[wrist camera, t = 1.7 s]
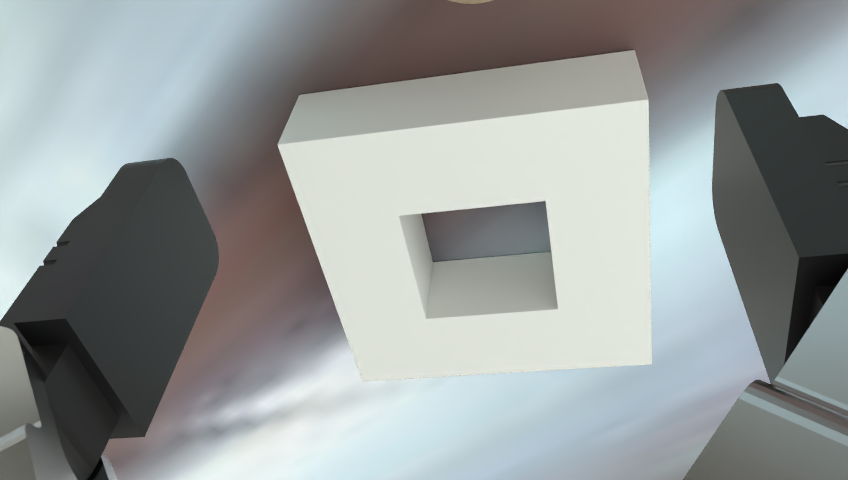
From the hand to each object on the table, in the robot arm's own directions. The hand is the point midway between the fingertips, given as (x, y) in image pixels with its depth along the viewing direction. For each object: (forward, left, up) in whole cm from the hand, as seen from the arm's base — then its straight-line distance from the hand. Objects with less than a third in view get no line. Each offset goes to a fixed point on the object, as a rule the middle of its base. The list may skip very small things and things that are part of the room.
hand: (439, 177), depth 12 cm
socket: (+2, +15, -19) cm, 25 cm away
